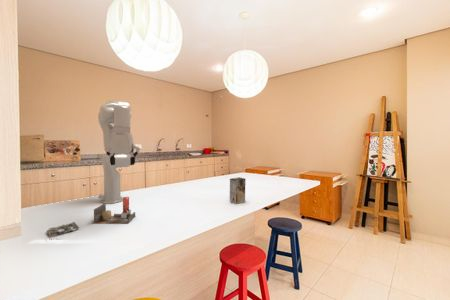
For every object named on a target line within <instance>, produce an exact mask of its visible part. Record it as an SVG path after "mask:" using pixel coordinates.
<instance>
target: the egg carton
mask: <svg viewBox="0 0 450 300" xmlns="http://www.w3.org/2000/svg"><path fill="white" fill-rule="evenodd" d="M71 227H72V228H73V229H71ZM79 229H80V227H79V225H78V224H77V223H76V222H75V221H72V222H71V223H66V224H62V225H59V226H54V227H49V228H48V229H47V230H45V232H46V235H47V236H48V237H49V238H51V237H53V238H55V237H57V236H58V235H66V234H67V233H70V232H76V231H78V230H79ZM60 230H61V231H60Z"/></svg>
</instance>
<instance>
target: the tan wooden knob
mask: <svg viewBox="0 0 450 300" xmlns="http://www.w3.org/2000/svg"><path fill="white" fill-rule="evenodd" d="M111 216H112V211H111V210H109V209H106V211H103V212H102V221H107V219H111Z"/></svg>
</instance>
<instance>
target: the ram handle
mask: <svg viewBox="0 0 450 300" xmlns="http://www.w3.org/2000/svg"><path fill="white" fill-rule="evenodd" d="M122 198H123V200H122V212H121V213H120V214H121V219H128V217H129V216H131V214H132V210H131V209H130V197H129V196H125V197H122Z"/></svg>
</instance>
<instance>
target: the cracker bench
mask: <svg viewBox="0 0 450 300" xmlns="http://www.w3.org/2000/svg"><path fill="white" fill-rule="evenodd" d="M106 207H107V206H106V204H105V203H102V204H101V205H99V206H97V207H96V208H94V209H93V222H92V223H91V224H92V225H129V224H130V223H131V222H132V221H133V220H134V219H135V218H136V217H137V215H136V212H135V211H134V212H133V213H131V216H129V217H128V219H121V213H114V214H113V215H111V219H107V221H102V212H103V211H107V208H106Z"/></svg>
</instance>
